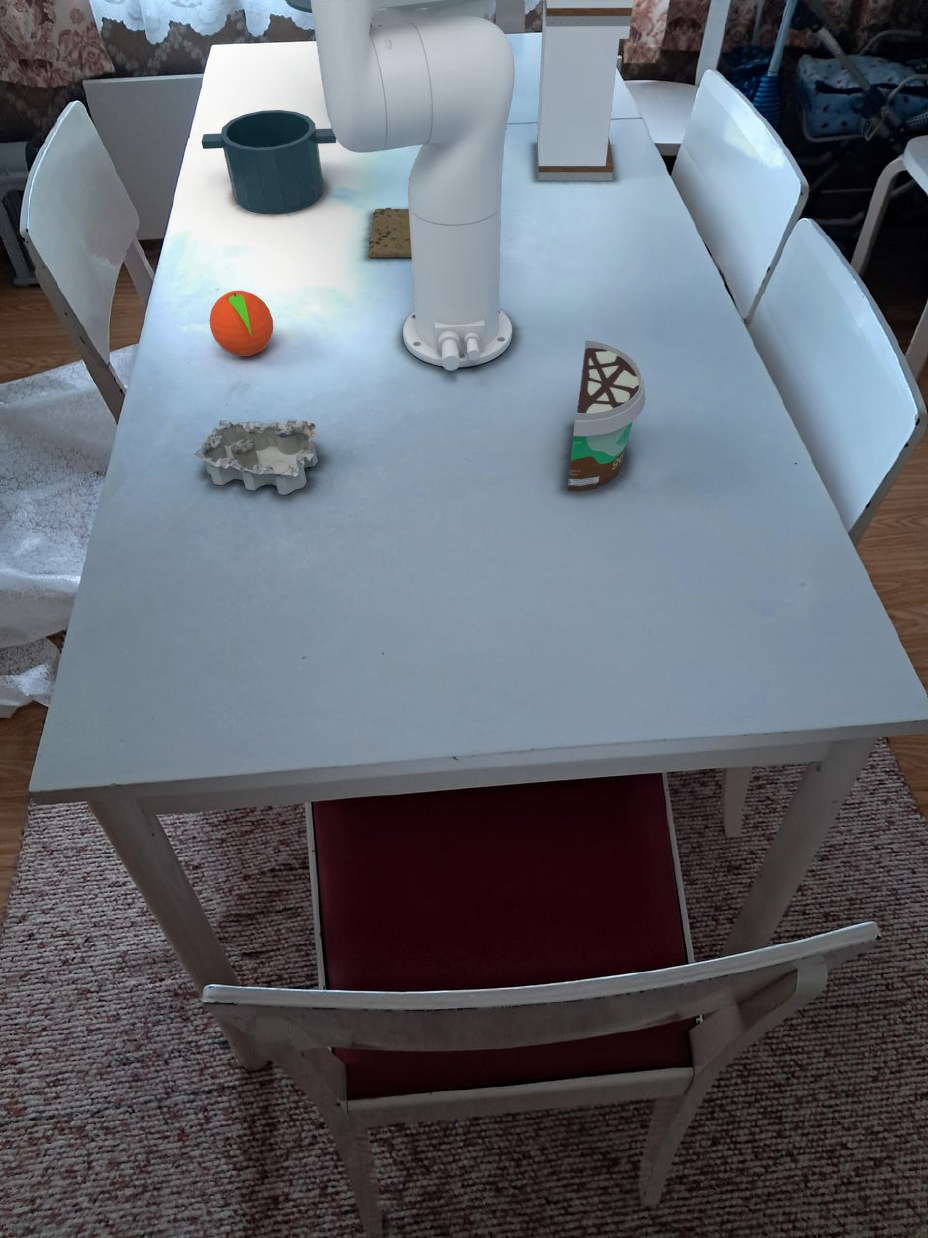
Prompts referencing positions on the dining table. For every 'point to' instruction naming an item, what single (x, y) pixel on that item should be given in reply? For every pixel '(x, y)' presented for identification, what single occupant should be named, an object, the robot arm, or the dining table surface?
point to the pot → (272, 160)
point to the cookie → (390, 233)
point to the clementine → (241, 323)
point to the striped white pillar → (578, 87)
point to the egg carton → (260, 454)
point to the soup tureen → (434, 11)
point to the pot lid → (300, 5)
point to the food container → (604, 415)
